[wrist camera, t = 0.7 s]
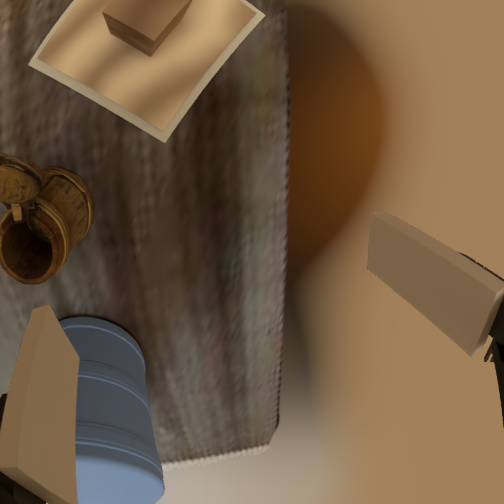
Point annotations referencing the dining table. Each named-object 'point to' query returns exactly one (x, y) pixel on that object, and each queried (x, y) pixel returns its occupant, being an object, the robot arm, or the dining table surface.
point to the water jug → (112, 417)
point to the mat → (125, 112)
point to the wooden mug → (40, 218)
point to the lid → (144, 49)
